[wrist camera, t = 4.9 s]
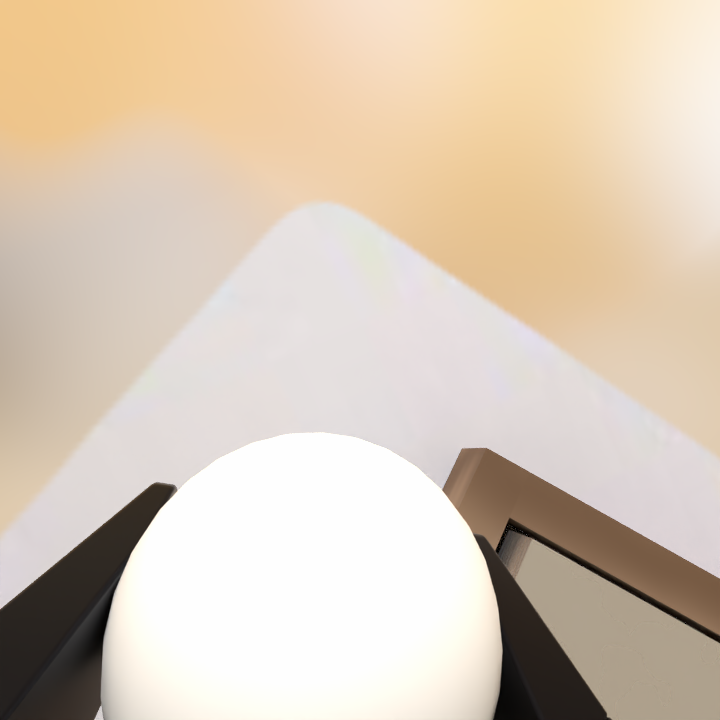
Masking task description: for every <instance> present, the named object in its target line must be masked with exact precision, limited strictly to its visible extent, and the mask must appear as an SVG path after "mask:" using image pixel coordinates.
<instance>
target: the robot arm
mask: <svg viewBox="0 0 720 720" xmlns="http://www.w3.org/2000/svg"><path fill="white" fill-rule="evenodd" d="M176 492H177V488H176V486H175V485H172V484H166V483H160V482H157V483H154V484H152V485H151V486H149V487H148V488H147V489H146V490H145V491H143V492H142V493H141V494H140V495H138V496H137V497H136V498H135V499H134V500H132V501H131V502H130V503H129V504H128V505H126V506H125V507H124V508H123V509H121V510H120V511H119V512H118V513H117V514H115V515H114V516H113V517H112V518H111V519H109V520H108V521H107V522H106V523H104V524H103V525H102V526H101V527H100V528H98V529H97V530H96V531H95V532H94V533H92V534H91V535H90V536H89V537H87V538H86V539H85V540H84V541H83V542H81V543H80V544H79V545H78V546H77V547H75V548H74V549H73V550H72V551H70V552H69V553H68V554H67V555H66V556H64V557H63V558H62V559H61V560H60V561H58V562H57V563H56V564H55V565H53V566H52V567H51V568H50V569H49V570H47V571H46V572H45V573H44V574H43V575H41V576H40V577H39V578H38V579H36V580H35V581H34V582H33V583H32V584H30V585H29V586H28V587H27V588H26V589H24V590H23V591H22V592H21V593H20V594H18V595H17V596H16V597H15V598H13V599H12V600H11V601H10V602H9V603H7V604H6V605H5V606H4V607H3V608H1V609H0V720H94V719H95V717H96V714H97V712H98V710H99V708H100V706H101V677H102V656H103V640H104V634H105V629H106V625H107V621H108V617H109V612H110V608H111V604H112V600H113V596H114V592H115V590H116V588H117V585H118V583H119V581H120V578H121V576H122V574H123V572H124V569H125V567H126V565H127V562H128V560H129V558H130V555H131V553H132V551H133V550H134V548H135V547H136V545H137V543H138V542H139V540H140V539H141V537H142V536H143V534H144V533H145V531H146V530H147V528H148V527H149V525H150V524H151V522H152V521H153V519H154V518H155V516H156V515H157V513H158V512H159V510H160V509H161V508H162V507H163V506H164V505H165V504H166V503H167V502H168V501H169V500H170V499H171V498H172V497H173V495H174V494H175V493H176ZM472 534H473V536H474V538H475V540H476V542H477V544H478V546H479V548H480V550H481V552H482V554H483V556H484V558H485V560H486V564H487V567H488V571H489V574H490V578H491V581H492V585H493V588H494V592H495V595H496V600H497V606H498V612H499V621H500V631H501V641H502V650H503V651H502V666H501V681H500V693H499V697H498V702H497V706H496V710H495V714H494V718H493V720H612V719H611V718H610V717H607V712H606V711H605V709H604V708H603V706H602V705H601V703H600V702H599V700H598V699H597V698H596V696H595V695H594V693H593V692H592V690H591V689H590V687H589V686H588V685H587V683H586V682H585V680H584V679H583V677H582V676H581V674H580V673H579V671H578V670H577V669H576V667H575V666H574V664H573V663H572V661H571V660H570V658H569V657H568V656H567V654H566V653H565V651H564V650H563V648H562V647H561V645H560V644H559V643H558V641H557V640H556V638H555V637H554V635H553V634H552V632H551V631H550V630H549V628H548V627H547V625H546V624H545V622H544V621H543V619H542V618H541V616H540V615H539V614H538V612H537V611H536V609H535V608H534V606H533V605H532V603H531V602H530V601H529V599H528V598H527V596H526V595H525V593H524V592H523V590H522V589H521V588H520V586H519V585H518V583H517V582H516V580H515V579H514V577H513V576H512V575H511V573H510V572H509V570H508V569H507V567H506V566H505V564H504V563H503V562H502V560H501V559H500V557H499V556H498V554H497V553H496V551H495V550H494V548H493V547H492V546H491V544H490V543H489V541H488V540H487V538H486V537H485V536H483V535H481V534H476V533H472Z"/></svg>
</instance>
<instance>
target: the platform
mask: <svg viewBox="0 0 720 720" xmlns="http://www.w3.org/2000/svg"><path fill="white" fill-rule="evenodd" d="M498 556H499V557H500V559H501V560H502V562H503V563H504V564H505V566H506V567H507V569H508V570H509V572H510V573H511V575H512V576H513V577H514V579H515V580H516V582H517V583H518V585H519V586H520V588H521V589H522V590H523V592H524V593H525V595H526V596H527V598H528V599H529V601H530V602H531V603H532V605H533V606H534V608H535V609H536V611H537V612H538V614H539V615H540V616H541V618H542V619H543V621H544V622H545V624H546V625H547V627H548V628H549V630H550V631H551V632H552V634H553V635H554V637H555V638H556V640H557V641H558V643H559V644H560V645H561V647H562V648H563V650H564V651H565V653H566V654H567V656H568V657H569V658H570V660H571V661H572V663H573V664H574V666H575V667H576V669H577V670H578V671H579V673H580V674H581V676H582V677H583V679H584V680H585V682H586V683H587V685H588V686H589V687H590V689H591V690H592V692H593V693H594V695H595V696H596V698H597V699H598V700H599V702H600V703H601V705H602V706H603V708H604V709H605V711H606V712H607V717H610V718H611V719H612V720H720V643H718V642H716V641H715V640H713V639H711V638H709V637H708V636H706V635H704V634H702V633H700V632H699V631H697V630H695V629H693V628H691V627H690V626H688V625H686V624H684V623H682V622H681V621H679V620H677V619H675V618H674V617H672V616H670V615H668V614H666V613H665V612H663V611H661V610H659V609H657V608H656V607H654V606H652V605H650V604H649V603H647V602H645V601H643V600H641V599H640V598H638V597H636V596H634V595H632V594H631V593H629V592H627V591H625V590H623V589H622V588H620V587H618V586H616V585H615V584H613V583H611V582H609V581H607V580H606V579H604V578H602V577H600V576H598V575H597V574H595V573H593V572H591V571H590V570H588V569H586V568H584V567H582V566H581V565H579V564H577V563H575V562H573V561H572V560H570V559H568V558H566V557H564V556H563V555H561V554H559V553H557V552H556V551H554V550H552V549H550V548H548V547H547V546H545V545H543V544H541V543H539V542H538V541H536V540H534V539H532V538H530V537H527V536H524V535H522V534H519V533H516V532H514V531H511V530H509V531H508V533H507V535H506V537H505V540H504V542H503V544H502V547H501V549H500V551H499V554H498Z"/></svg>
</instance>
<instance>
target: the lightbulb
mask: <svg viewBox="0 0 720 720" xmlns="http://www.w3.org/2000/svg"><path fill="white" fill-rule="evenodd" d="M502 651H503V650H502V641H501V631H500V621H499V612H498V606H497V600H496V595H495V592H494V588H493V585H492V581H491V578H490V574H489V571H488V567H487V564H486V560H485V558H484V556H483V554H482V552H481V550H480V548H479V546H478V544H477V542H476V540H475V538H474V536H473V534H472V531H471V529H470V527H469V526H468V524H467V523H466V522H465V520H464V519H463V518H462V516H461V515H460V514H459V512H458V511H457V509H456V508H455V507H454V505H453V504H452V503H451V501H450V500H449V499H448V497H447V496H446V495H445V493H444V492H443V491H442V490H441V489H440V488H439V487H438V486H437V485H436V484H435V483H434V482H433V481H432V480H430V479H429V478H428V477H427V476H426V475H425V474H424V473H423V472H422V471H421V470H420V469H418V468H417V467H416V466H414V465H413V464H411V463H410V462H408V461H406V460H405V459H403V458H401V457H400V456H398V455H396V454H395V453H393V452H391V451H390V450H388V449H386V448H383V447H380V446H378V445H375V444H372V443H369V442H367V441H364V440H361V439H358V438H355V437H349V436H342V435H336V434H329V433H322V432H321V433H301V434H286V435H282V436H278V437H274V438H270V439H266V440H262V441H258V442H254V443H251V444H249V445H247V446H245V447H242V448H240V449H238V450H236V451H234V452H232V453H229V454H227V455H225V456H223V457H221V458H219V459H217V460H216V461H215V462H213V463H212V464H210V465H209V466H208V467H206V468H205V469H203V470H202V471H201V472H199V473H198V474H196V475H195V476H194V477H192V478H191V479H189V480H188V481H187V482H186V483H185V484H184V485H183V486H182V487H181V488H180V489H179V490H178V491H177V492H176V493H175V494H174V495H173V497H172V498H171V499H170V500H169V501H168V502H167V503H166V504H165V505H164V506H163V507H162V508H161V509H160V510H159V512H158V513H157V515H156V516H155V518H154V519H153V521H152V522H151V524H150V525H149V527H148V528H147V530H146V531H145V533H144V534H143V536H142V537H141V539H140V540H139V542H138V543H137V545H136V547H135V548H134V550H133V551H132V553H131V555H130V558H129V560H128V562H127V565H126V567H125V569H124V572H123V574H122V576H121V578H120V581H119V583H118V585H117V588H116V590H115V592H114V596H113V600H112V604H111V608H110V612H109V617H108V621H107V625H106V629H105V634H104V640H103V656H102V677H101V704H102V711H103V718H104V720H493V718H494V714H495V710H496V706H497V702H498V697H499V693H500V681H501V666H502Z"/></svg>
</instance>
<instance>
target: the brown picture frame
mask: <svg viewBox="0 0 720 720" xmlns="http://www.w3.org/2000/svg"><path fill="white" fill-rule="evenodd" d="M442 491H443V492H444V493H445V495H446V496H447V497H448V499H449V500H450V501H451V503H452V504H453V505H454V507H455V508H456V509H457V511H458V512H459V514H460V515H461V516H462V518H463V519H464V520H465V522H466V523H467V524H468V526H469V527H470V529H471V531H472V533H476V534H481V535H483V536H485V537H486V538H487V540H488V541H489V543H490V544H491V546H492V547H493V548H494V550H496V548H497V545H498V543H499V541H500V538H501V536H502V534H503V531H504V529H505V527H506V525H507V523H508V524H510V525H512V526H513V527H515V528H517V529H519V530H521V531H522V532H524V533H526V534H528V535H529V536H531V537H533V538H535V539H537V540H538V541H540V542H542V543H544V544H546V545H547V546H549V547H551V548H553V549H554V550H556V551H558V552H560V553H562V554H563V555H565V556H567V557H569V558H571V559H572V560H574V561H576V562H578V563H580V564H581V565H583V566H585V567H587V568H588V569H590V570H592V571H594V572H596V573H597V574H599V575H601V576H603V577H605V578H606V579H608V580H610V581H612V582H613V583H615V584H617V585H619V586H621V587H622V588H624V589H626V590H628V591H630V592H631V593H633V594H635V595H637V596H639V597H640V598H642V599H644V600H646V601H647V602H649V603H651V604H653V605H655V606H656V607H658V608H660V609H662V610H664V611H665V612H667V613H669V614H671V615H672V616H674V617H676V618H678V619H680V620H681V621H683V622H685V623H687V624H689V625H690V626H692V627H694V628H696V629H698V630H699V631H701V632H703V633H705V634H706V636H708V637H709V638H711V639H713V640H715V641H716V642H718V643H720V579H719V578H717V577H716V576H714V575H712V574H710V573H708V572H707V571H705V570H703V569H701V568H700V567H698V566H696V565H694V564H692V563H691V562H689V561H687V560H685V559H683V558H682V557H680V556H678V555H676V554H675V553H673V552H671V551H669V550H667V549H666V548H664V547H662V546H660V545H659V544H657V543H655V542H653V541H651V540H650V539H648V538H646V537H644V536H642V535H641V534H639V533H637V532H635V531H634V530H632V529H630V528H628V527H626V526H625V525H623V524H621V523H619V522H618V521H616V520H614V519H612V518H610V517H609V516H607V515H605V514H603V513H601V512H600V511H598V510H596V509H594V508H593V507H591V506H589V505H587V504H585V503H584V502H582V501H580V500H578V499H577V498H575V497H573V496H571V495H569V494H568V493H566V492H564V491H562V490H561V489H559V488H557V487H555V486H553V485H552V484H550V483H548V482H546V481H544V480H543V479H541V478H539V477H537V476H536V475H534V474H532V473H530V472H528V471H527V470H525V469H523V468H521V467H520V466H518V465H516V464H514V463H512V462H511V461H509V460H507V459H505V458H503V457H502V456H500V455H498V454H496V453H495V452H493V451H491V450H489V449H487V448H468V449H462V450H461V452H460V454H459V456H458V458H457V460H456V463H455V465H454V467H453V469H452V471H451V473H450V475H449V477H448V479H447V481H446V484H445V486H444V488H443V490H442Z"/></svg>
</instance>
